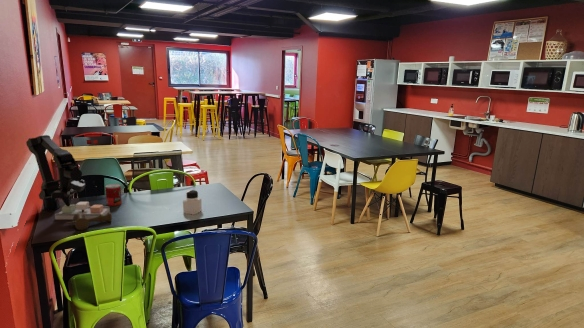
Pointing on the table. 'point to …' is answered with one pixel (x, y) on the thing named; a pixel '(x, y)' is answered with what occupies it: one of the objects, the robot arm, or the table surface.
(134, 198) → the table surface
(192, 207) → the medicine bottle
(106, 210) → the keypad base
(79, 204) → the key white
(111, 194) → the canned food
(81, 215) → the kendama
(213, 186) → the table surface
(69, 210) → the key sage
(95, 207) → the key terracotta
